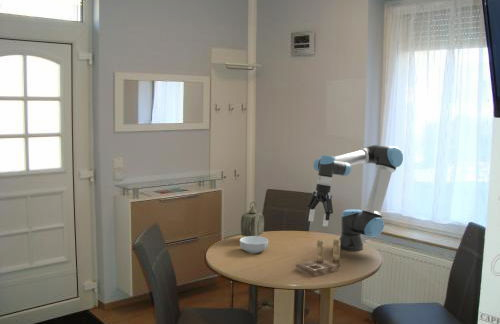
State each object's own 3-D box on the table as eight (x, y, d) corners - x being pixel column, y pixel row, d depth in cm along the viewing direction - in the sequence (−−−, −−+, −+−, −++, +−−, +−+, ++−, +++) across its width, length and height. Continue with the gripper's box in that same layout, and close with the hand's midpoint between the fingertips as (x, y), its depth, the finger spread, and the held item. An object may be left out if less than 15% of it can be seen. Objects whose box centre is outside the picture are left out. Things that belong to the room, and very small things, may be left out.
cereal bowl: (236, 248, 298) (236, 236, 297) (262, 246, 303) (262, 235, 302) (244, 256, 282) (244, 244, 281) (272, 254, 287) (272, 242, 286)
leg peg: (336, 264, 271) (336, 238, 269) (340, 265, 268) (341, 240, 266) (331, 265, 269) (332, 239, 267) (336, 267, 266) (336, 241, 264)
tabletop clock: (252, 237, 322) (252, 199, 319) (264, 239, 318) (265, 200, 315) (240, 242, 310) (240, 203, 307) (253, 245, 305) (253, 204, 302)
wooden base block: (320, 263, 271) (321, 238, 269) (338, 270, 260) (339, 244, 258) (295, 269, 260) (296, 243, 259) (312, 277, 250) (313, 249, 248)
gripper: (305, 180, 276) (299, 218, 277) (331, 186, 254) (325, 227, 254) (316, 182, 280) (310, 219, 280) (343, 188, 257) (337, 228, 258)
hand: (317, 223), depth 267 cm, fingers open, 13 cm apart
